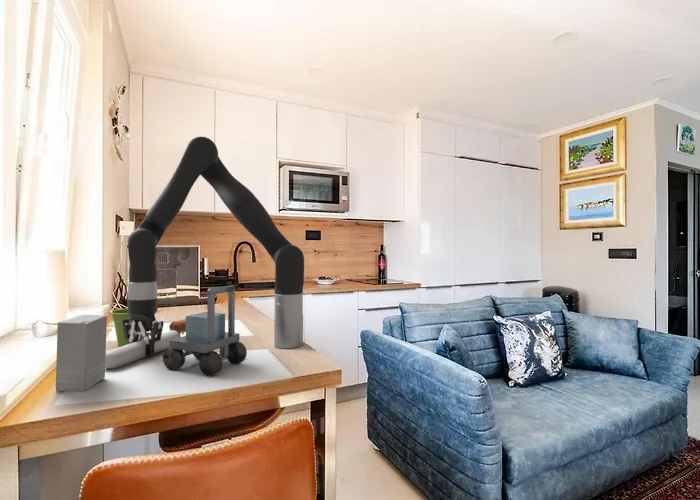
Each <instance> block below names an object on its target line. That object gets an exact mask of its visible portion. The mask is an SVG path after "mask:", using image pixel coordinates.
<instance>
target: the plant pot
mask: <svg viewBox="0 0 700 500" xmlns="http://www.w3.org/2000/svg"><path fill="white" fill-rule="evenodd" d="M109 313H110V314H111V317H112V320H113V323H114V329H115V336H116V340H117V341H116V342H117V345H118V347H121V346H124V345H128V344H131V342H130V341H129V339H125V336H124V330H123V324H122V320H123V319H127V318H130V316H131V315H129V314H128V307H127V308H120V309H114V310H111V311H109ZM128 333H129V335H130V330H128ZM135 336H136V335H135ZM143 339H145V338H144V337H143V336H142V334H141V335H140V339H139V340H138V341H140V340H143Z"/></svg>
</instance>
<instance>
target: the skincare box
mask: <svg viewBox="0 0 700 500" xmlns="http://www.w3.org/2000/svg"><path fill="white" fill-rule="evenodd" d="M107 321H108V316H107V315H106V314H104V315H99V314H98V315H97V314H96V315H95V314H79V315H76V316H73V317H71V318H68V319H64V320H61V321H58V322H57V330H56V331H57V336H56V338H57V339H56V363H55V365H56V367H55V368H56V371H55V392H85V391H86V390H88V389H90V388H91V387H93V386H95V384H97V383H98V382H101V380H103V379H105V377H106V368H105V357H106V352H107V330H108V329H107V327H108V326H107V325H108V324H107V323H108V322H107Z"/></svg>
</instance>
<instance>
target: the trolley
mask: <svg viewBox="0 0 700 500" xmlns="http://www.w3.org/2000/svg"><path fill="white" fill-rule="evenodd" d="M206 293H207V311H201V312H198V313H194V314H190V315H186V316H185V319H186V332H185V335H184V336H181V337H180V338H176V339H173V340H170V341H169V348H167V349H166V350H163V354H162V362H163V365H164V366H165V367H166V369H168V370H170V371H176V370H179V369H181V368H183V366H184V365H185V362H186V357H187V356H191V355H193V357H194V358H195V359H197V360H198V367H199V370H200V372H201V373H202V374H203V375H205V376H206V377H213V376H216V375H217V374H219V373H220V372H221V371H222V369H223V361H225V360H227V362H228V363H230V364H232V365H238V364H241V363H243V362H244V361H245V360H246V358H247V355H248V351H247V347H246V346H245V344H243V342H241V341H240V333H239V332H238V333H236V332H235V330H236V329H235V328H236V327H235V324H236V322H235V319H236V317H235V316H236V315H235V310H236V308H235V307H236V305H235V304H236V303H235V301H236V296H235V295H236V294H235V293H236V286H235V285H233V284H232V285H226V286H219V287H212V288H208V289H207V290H206ZM223 293H227V294H228V297H227V298H228V299H227V300H228V301H227V302H228V304H227V307H228V308H227V311H228V312H227V316H228V317H227V319H228V321H227V325H228V326H227V327H228V328H227V331H228V332H227V331H226V313H223V312H215V311H216V310H215V307H216V306H215V305H216V301H215V298H216V296H215V295H217V294H223ZM216 350H219V351H218V352H219V353H218V352H217V351H216Z"/></svg>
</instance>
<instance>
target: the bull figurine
mask: <svg viewBox="0 0 700 500" xmlns="http://www.w3.org/2000/svg"><path fill="white" fill-rule="evenodd" d="M168 328H169V330H175V331H177V332H178V333H179V334H180V337H182V336H181V334H182V335H184V334H185V333H186V318H185V319H181V320H176V321H174V320H173V321H172V322H171V323H169V327H168Z"/></svg>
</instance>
